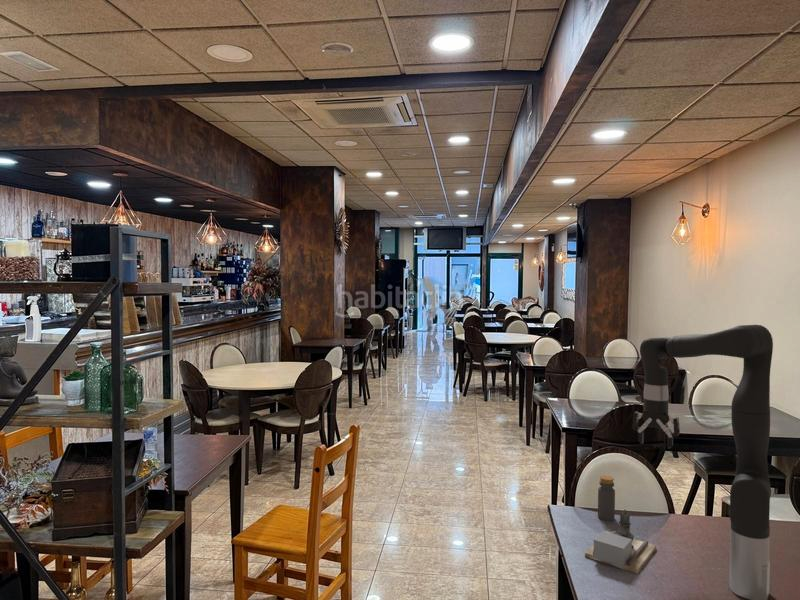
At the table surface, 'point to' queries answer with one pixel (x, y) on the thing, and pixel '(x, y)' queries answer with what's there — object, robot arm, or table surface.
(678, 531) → the table surface
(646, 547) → the board
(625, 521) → the salt shaker
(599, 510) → the bottle
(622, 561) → the cover
